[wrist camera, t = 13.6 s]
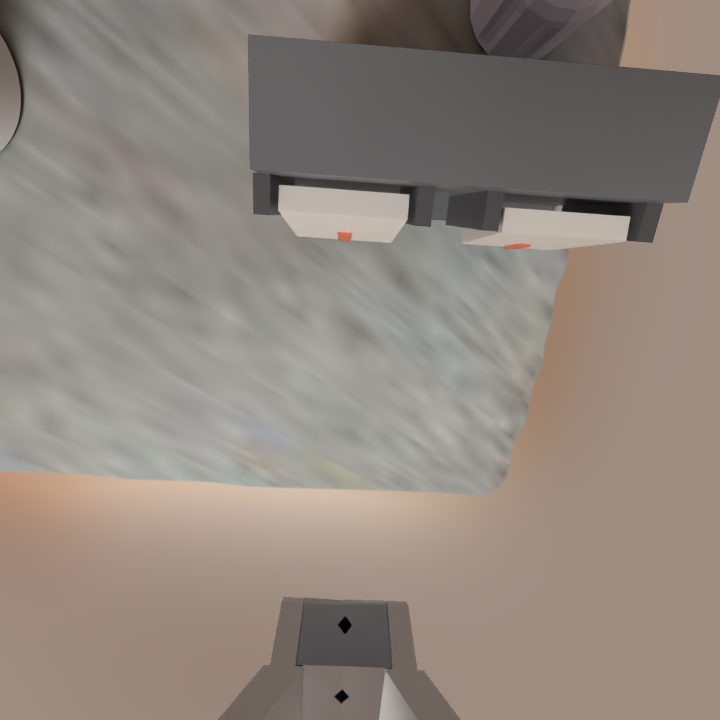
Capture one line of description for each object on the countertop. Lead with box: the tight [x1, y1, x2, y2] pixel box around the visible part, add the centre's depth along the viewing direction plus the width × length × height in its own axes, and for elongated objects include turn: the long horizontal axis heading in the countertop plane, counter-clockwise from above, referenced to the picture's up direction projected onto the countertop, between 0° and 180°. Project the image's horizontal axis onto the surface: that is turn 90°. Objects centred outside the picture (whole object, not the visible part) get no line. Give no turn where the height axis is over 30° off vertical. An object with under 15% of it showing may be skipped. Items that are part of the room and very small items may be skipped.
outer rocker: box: [461, 207, 630, 250], centre depth 32 cm, size 8×2×10 cm, turn 86°
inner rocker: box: [278, 185, 409, 243], centre depth 31 cm, size 8×2×10 cm, turn 86°
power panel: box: [248, 34, 720, 243], centre depth 31 cm, size 26×10×20 cm, turn 86°
